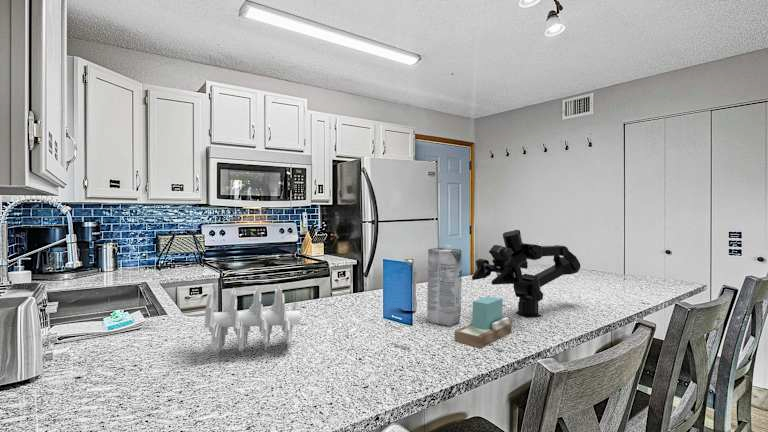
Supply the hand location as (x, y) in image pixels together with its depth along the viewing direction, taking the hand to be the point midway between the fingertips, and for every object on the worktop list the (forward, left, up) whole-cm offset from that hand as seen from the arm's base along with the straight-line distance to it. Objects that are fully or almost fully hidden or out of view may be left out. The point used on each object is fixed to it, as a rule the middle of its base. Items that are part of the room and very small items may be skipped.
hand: (481, 280), depth 136 cm
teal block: (+4, +10, -12) cm, 16 cm away
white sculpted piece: (+74, +3, -15) cm, 76 cm away
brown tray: (+6, +11, -15) cm, 20 cm away
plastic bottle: (+18, -22, -15) cm, 32 cm away
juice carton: (+11, -6, -15) cm, 20 cm away
